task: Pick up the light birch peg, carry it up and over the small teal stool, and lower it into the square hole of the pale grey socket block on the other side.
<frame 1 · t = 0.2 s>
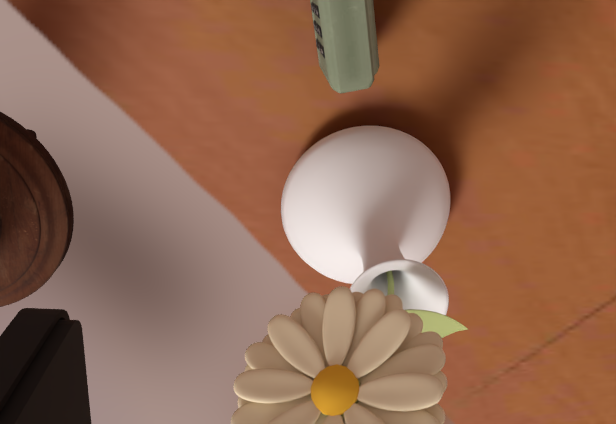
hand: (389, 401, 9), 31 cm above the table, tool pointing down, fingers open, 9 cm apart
flower in vase: (350, 198, 41), on the table
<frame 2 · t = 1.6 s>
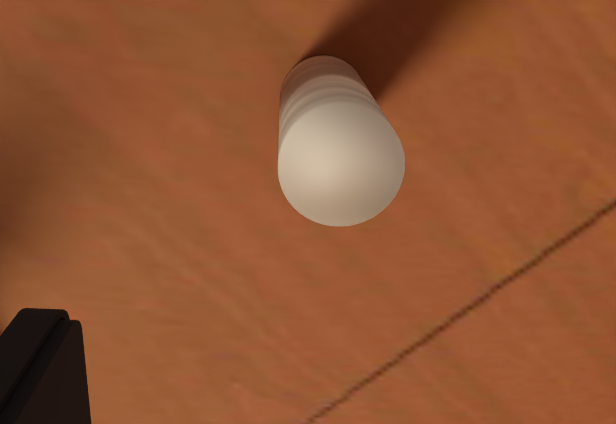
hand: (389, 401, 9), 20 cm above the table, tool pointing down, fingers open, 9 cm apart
peg: (322, 98, 28), on the table
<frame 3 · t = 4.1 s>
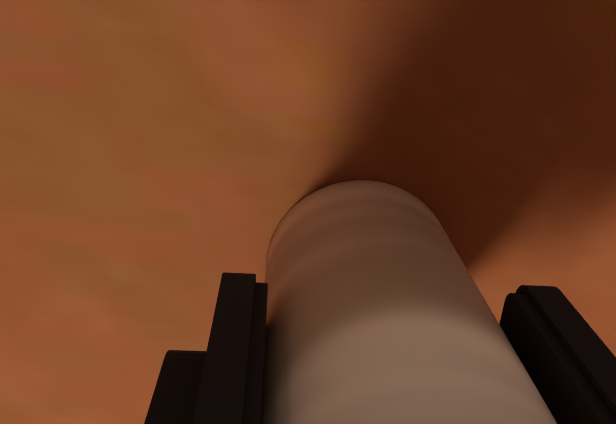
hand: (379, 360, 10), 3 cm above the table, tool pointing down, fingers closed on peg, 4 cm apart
peg: (357, 265, 13), on the table, touching gripper
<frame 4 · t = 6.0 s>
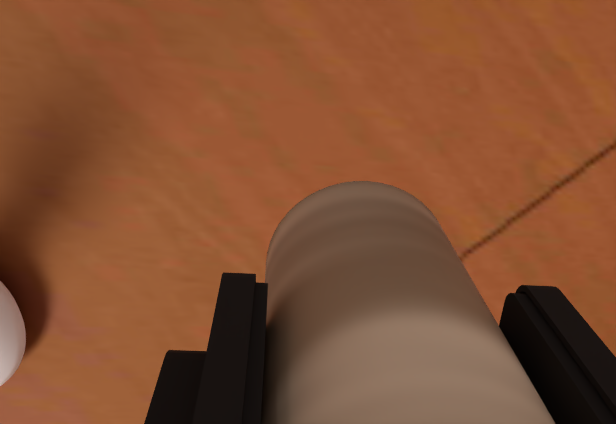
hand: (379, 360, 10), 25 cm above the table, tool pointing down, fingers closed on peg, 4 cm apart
peg: (357, 266, 13), point 22 cm above the table, touching gripper
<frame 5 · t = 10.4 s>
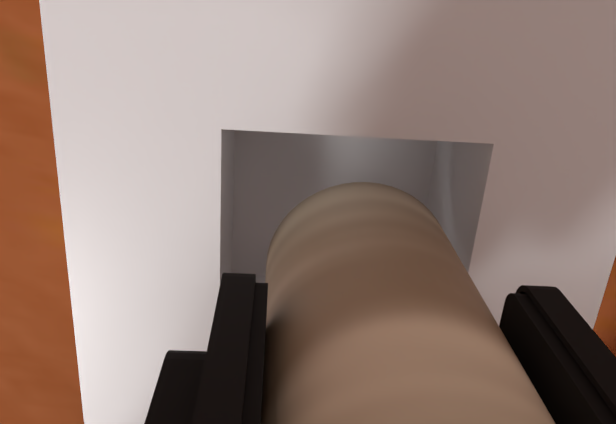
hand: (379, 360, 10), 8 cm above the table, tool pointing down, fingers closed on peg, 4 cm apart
peg: (357, 267, 13), point 5 cm above the table, touching gripper
socket block: (329, 179, 17), on the table
when the fingers open (6 cm above the table, at t = 11.2 s): peg drops 1 cm, resting on socket block.
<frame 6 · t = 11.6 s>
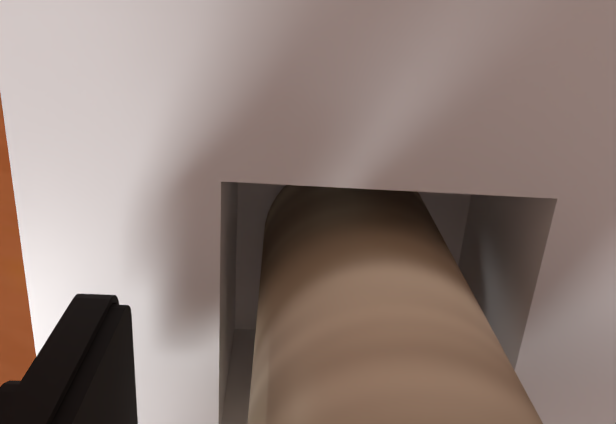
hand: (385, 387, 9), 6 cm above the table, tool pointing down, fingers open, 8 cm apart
peg: (347, 237, 14), point 1 cm above the table, touching socket block
socket block: (346, 220, 15), on the table
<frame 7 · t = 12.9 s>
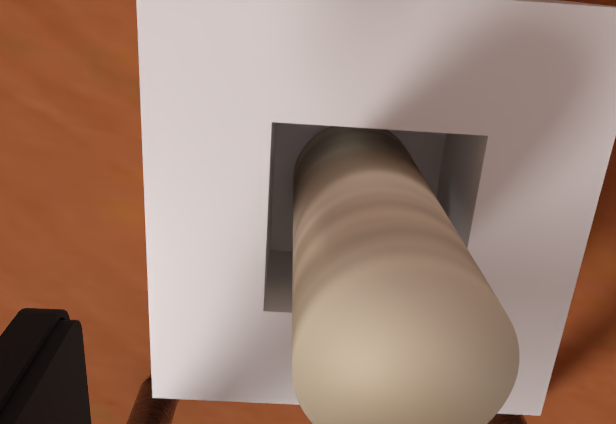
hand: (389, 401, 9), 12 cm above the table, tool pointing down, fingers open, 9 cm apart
small teal stool: (330, 401, 24), on the table
peg: (353, 180, 20), point 1 cm above the table, touching socket block
socket block: (353, 170, 21), on the table
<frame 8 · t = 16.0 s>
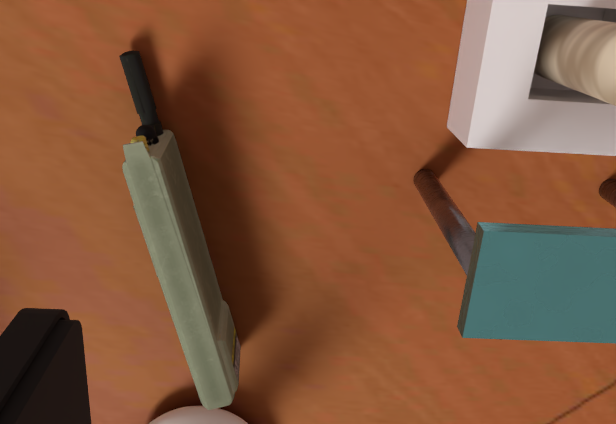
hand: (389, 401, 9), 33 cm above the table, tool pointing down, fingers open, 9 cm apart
small teal stool: (518, 184, 44), on the table
peg: (553, 46, 39), point 1 cm above the table, touching socket block
handheld radio: (185, 216, 44), on the table
socket block: (548, 45, 40), on the table
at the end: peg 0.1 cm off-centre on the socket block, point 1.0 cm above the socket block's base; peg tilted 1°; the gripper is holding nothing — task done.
